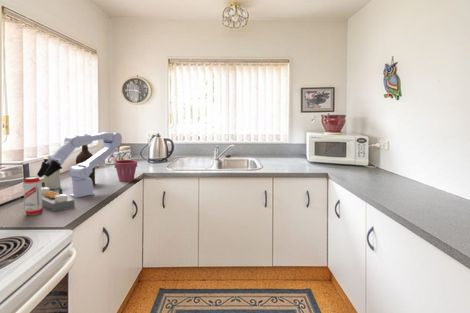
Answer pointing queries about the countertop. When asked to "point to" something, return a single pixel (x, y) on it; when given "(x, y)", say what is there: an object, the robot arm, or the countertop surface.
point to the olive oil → (83, 157)
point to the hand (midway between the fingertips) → (42, 175)
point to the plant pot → (126, 169)
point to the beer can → (33, 195)
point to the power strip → (56, 203)
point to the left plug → (44, 190)
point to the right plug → (60, 196)
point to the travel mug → (52, 178)
